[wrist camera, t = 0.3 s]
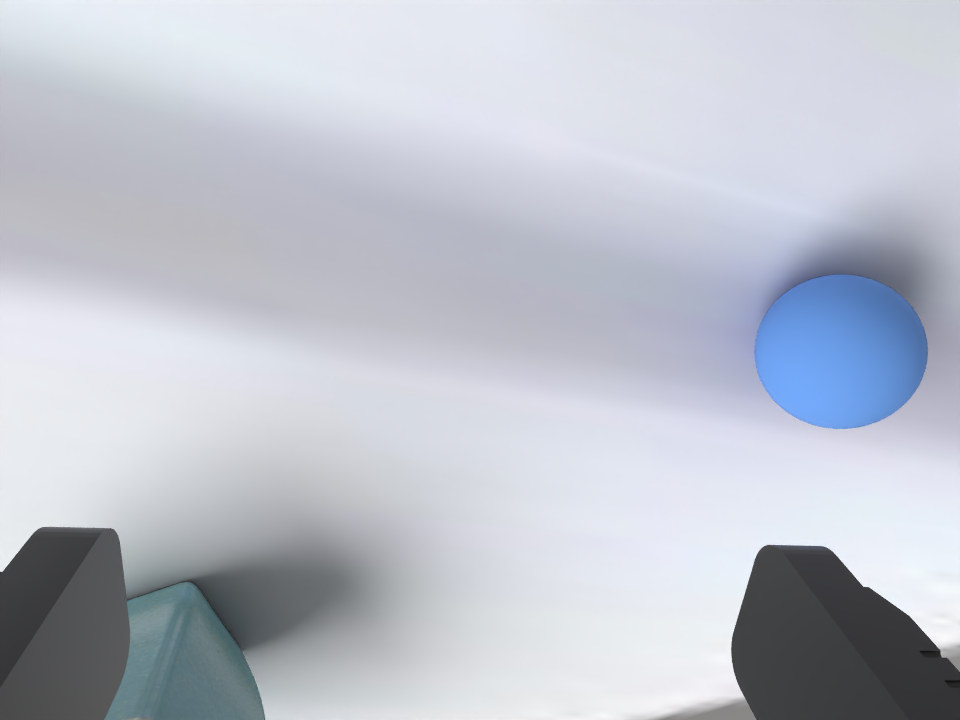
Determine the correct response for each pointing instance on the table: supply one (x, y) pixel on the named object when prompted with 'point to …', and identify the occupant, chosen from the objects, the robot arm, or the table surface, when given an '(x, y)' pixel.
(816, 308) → the ball
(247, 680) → the flower pot
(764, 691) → the robot arm
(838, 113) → the table surface
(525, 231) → the table surface
